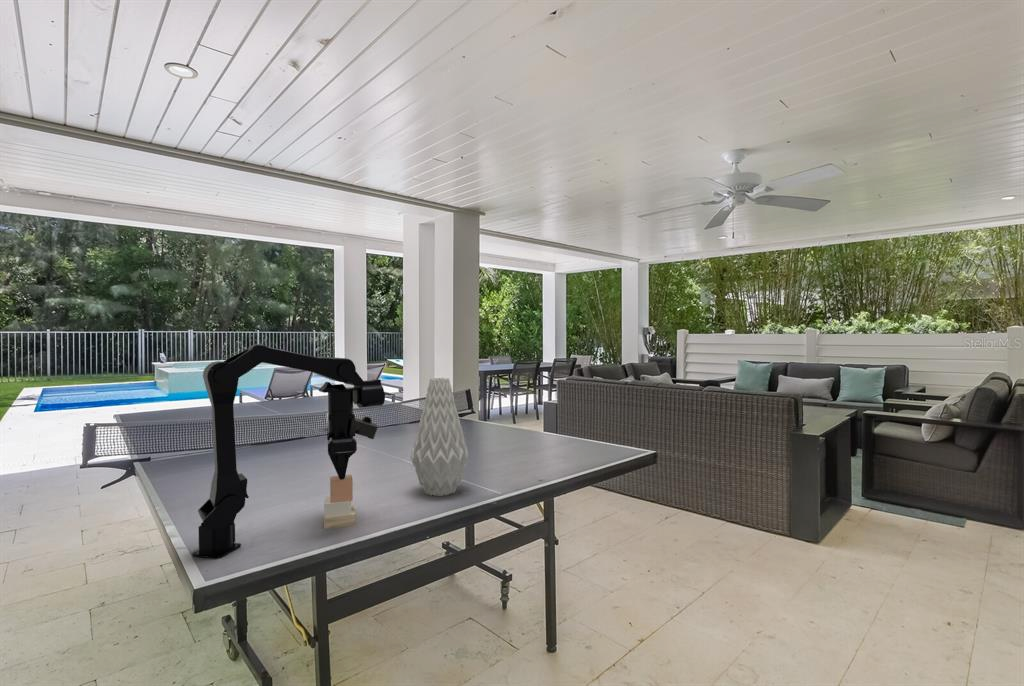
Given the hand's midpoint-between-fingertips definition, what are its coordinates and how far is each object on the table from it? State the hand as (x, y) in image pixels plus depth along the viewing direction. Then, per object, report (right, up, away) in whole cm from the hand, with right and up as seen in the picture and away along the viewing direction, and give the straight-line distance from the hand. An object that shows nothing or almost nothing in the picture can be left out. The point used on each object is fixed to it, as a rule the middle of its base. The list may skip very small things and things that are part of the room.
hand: (341, 474), depth 123 cm
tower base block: (-1, -12, 0) cm, 12 cm away
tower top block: (-1, -9, 0) cm, 9 cm away
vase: (+20, -12, +24) cm, 34 cm away
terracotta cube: (0, -6, +1) cm, 6 cm away
